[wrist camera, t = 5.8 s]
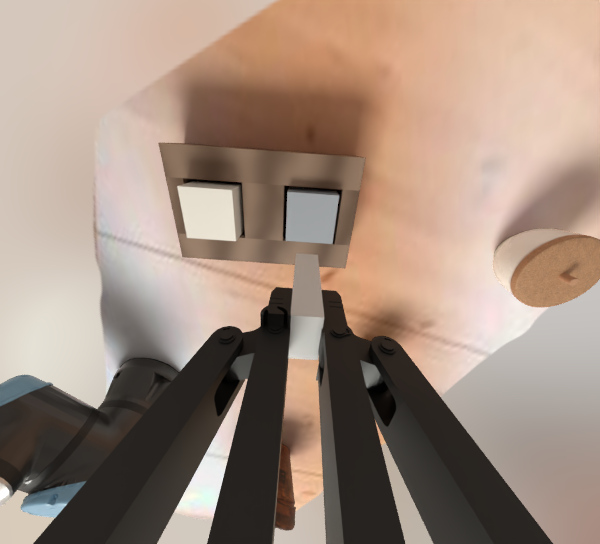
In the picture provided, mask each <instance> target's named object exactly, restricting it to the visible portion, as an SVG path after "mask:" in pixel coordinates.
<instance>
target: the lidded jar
mask: <svg viewBox="0 0 600 544" xmlns="http://www.w3.org/2000/svg"><path fill="white" fill-rule="evenodd" d="M493 271H494V274H495V276H496V278H497V280H498V281H499V282H500V284H501V285H502V286H503V287H504V288H505V289H506V290H507V291H509V292H510V293H511V294H512V295H514V296H515V297H516V298H517V299H518V300H519V301H521V302H522V303H524V304H526V305H528V306H532V307H550V306H555V305H559V304H562V303H565V302H568V301H570V300H572V299H574V298H576V297H578V296H580V295H581V294H583V293H584V292H586V291H587V290H589V289H590V288H591V287H592V286H593V285H594V284H595V283H597V281H598V280H599V279H600V240H599V239H597V238H594V237H591V236H586V235H581V234H578V233H574V232H570V231H565V230H559V229H550V228H543V229H533V230H529V231H525V232H522V233H519V234H517V235H514V236H511V237H509V238H508V239H506V240H505V241H503V242H502V243H501V244H500V245H499V246H498V248H497V249H496V251H495V253H494V259H493Z"/></svg>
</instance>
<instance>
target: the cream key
mask: <svg viewBox="0 0 600 544" xmlns="http://www.w3.org/2000/svg"><path fill="white" fill-rule="evenodd" d="M177 188H178V193H179V198H180V204H181V209H182V214H183V219H184V225H185V230H186V235H187V238H196V239H210V240H225V241H237V239H238V238H239V237H240V235H241V234H242V233H243V231H244V223H243V207H242V190H241V185H239V184H225V183H211V182H197V181H192V182H189V183H186V184H183V185H179V186H177Z"/></svg>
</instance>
